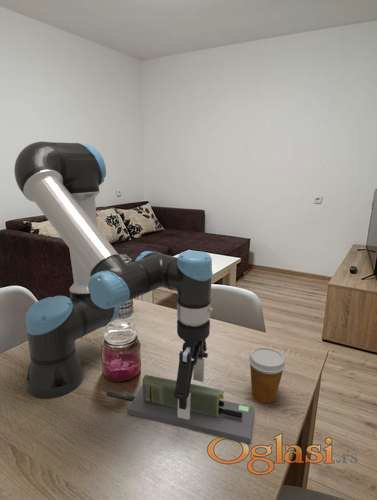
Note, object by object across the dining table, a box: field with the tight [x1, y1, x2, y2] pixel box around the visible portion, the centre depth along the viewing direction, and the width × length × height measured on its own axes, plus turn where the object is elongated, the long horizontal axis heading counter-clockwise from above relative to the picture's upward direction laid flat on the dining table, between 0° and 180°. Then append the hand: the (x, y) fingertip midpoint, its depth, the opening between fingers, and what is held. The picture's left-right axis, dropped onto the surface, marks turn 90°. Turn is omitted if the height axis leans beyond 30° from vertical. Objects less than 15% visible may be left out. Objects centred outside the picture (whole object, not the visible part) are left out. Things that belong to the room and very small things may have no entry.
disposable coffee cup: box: [248, 346, 287, 404], centre depth 87 cm, size 10×10×12 cm
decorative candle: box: [114, 253, 134, 321], centre depth 128 cm, size 9×9×25 cm
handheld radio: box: [142, 374, 242, 418], centre depth 80 cm, size 7×3×25 cm
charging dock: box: [106, 384, 255, 444], centre depth 83 cm, size 38×10×2 cm, turn 74°
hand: (191, 397), depth 81 cm, fingers open, 13 cm apart
